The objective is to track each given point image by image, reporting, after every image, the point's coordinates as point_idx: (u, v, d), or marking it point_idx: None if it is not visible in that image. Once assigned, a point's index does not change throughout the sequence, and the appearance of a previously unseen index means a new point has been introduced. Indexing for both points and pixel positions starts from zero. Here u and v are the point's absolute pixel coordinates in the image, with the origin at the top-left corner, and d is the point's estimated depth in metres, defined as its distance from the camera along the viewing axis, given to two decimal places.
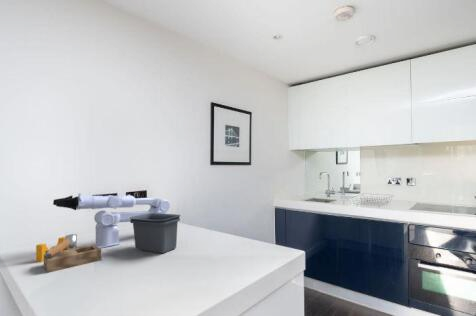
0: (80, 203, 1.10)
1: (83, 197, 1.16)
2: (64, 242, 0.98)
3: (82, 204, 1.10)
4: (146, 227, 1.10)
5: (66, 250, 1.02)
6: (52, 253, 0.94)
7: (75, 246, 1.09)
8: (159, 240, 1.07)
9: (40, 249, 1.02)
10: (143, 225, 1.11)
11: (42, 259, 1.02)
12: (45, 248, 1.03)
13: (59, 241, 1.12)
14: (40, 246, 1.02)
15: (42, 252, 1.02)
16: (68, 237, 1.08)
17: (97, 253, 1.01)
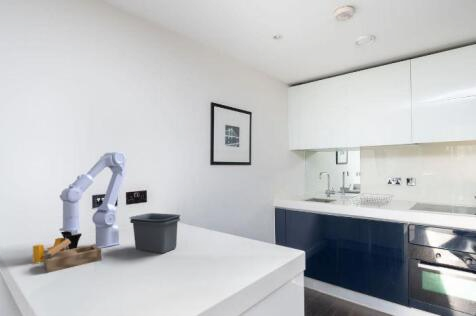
0: (74, 233, 1.04)
1: (65, 226, 1.07)
2: (64, 242, 0.98)
3: (75, 231, 1.05)
4: (146, 227, 1.10)
5: (66, 250, 1.02)
6: (52, 253, 0.94)
7: None
8: (159, 240, 1.07)
9: (37, 250, 1.01)
10: (143, 225, 1.11)
11: (39, 260, 1.01)
12: (42, 249, 1.02)
13: (56, 242, 1.11)
14: (37, 247, 1.01)
15: (39, 253, 1.01)
16: None
17: (97, 253, 1.01)
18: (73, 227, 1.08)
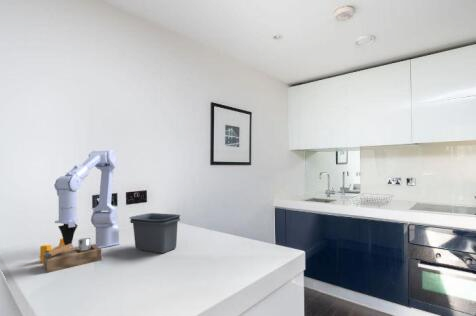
0: (71, 225, 0.94)
1: (61, 218, 0.96)
2: None
3: (72, 223, 0.94)
4: (146, 227, 1.10)
5: (66, 250, 1.02)
6: (52, 254, 0.94)
7: None
8: (159, 240, 1.07)
9: (45, 250, 1.00)
10: (143, 225, 1.11)
11: None
12: (50, 249, 1.02)
13: (61, 242, 1.10)
14: (45, 247, 1.01)
15: None
16: (81, 241, 1.00)
17: (97, 253, 1.01)
18: (70, 219, 0.97)
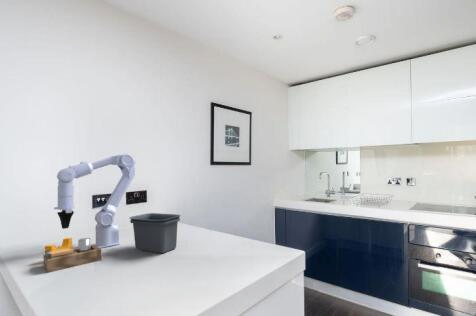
0: (68, 211, 1.08)
1: (59, 205, 1.10)
2: (67, 249, 0.98)
3: (69, 209, 1.08)
4: (146, 227, 1.10)
5: None
6: (53, 255, 0.94)
7: None
8: (159, 240, 1.07)
9: (50, 250, 1.00)
10: (143, 225, 1.11)
11: None
12: (54, 249, 1.02)
13: (64, 242, 1.10)
14: (50, 247, 1.00)
15: None
16: (81, 241, 1.00)
17: (97, 253, 1.01)
18: (67, 206, 1.11)
